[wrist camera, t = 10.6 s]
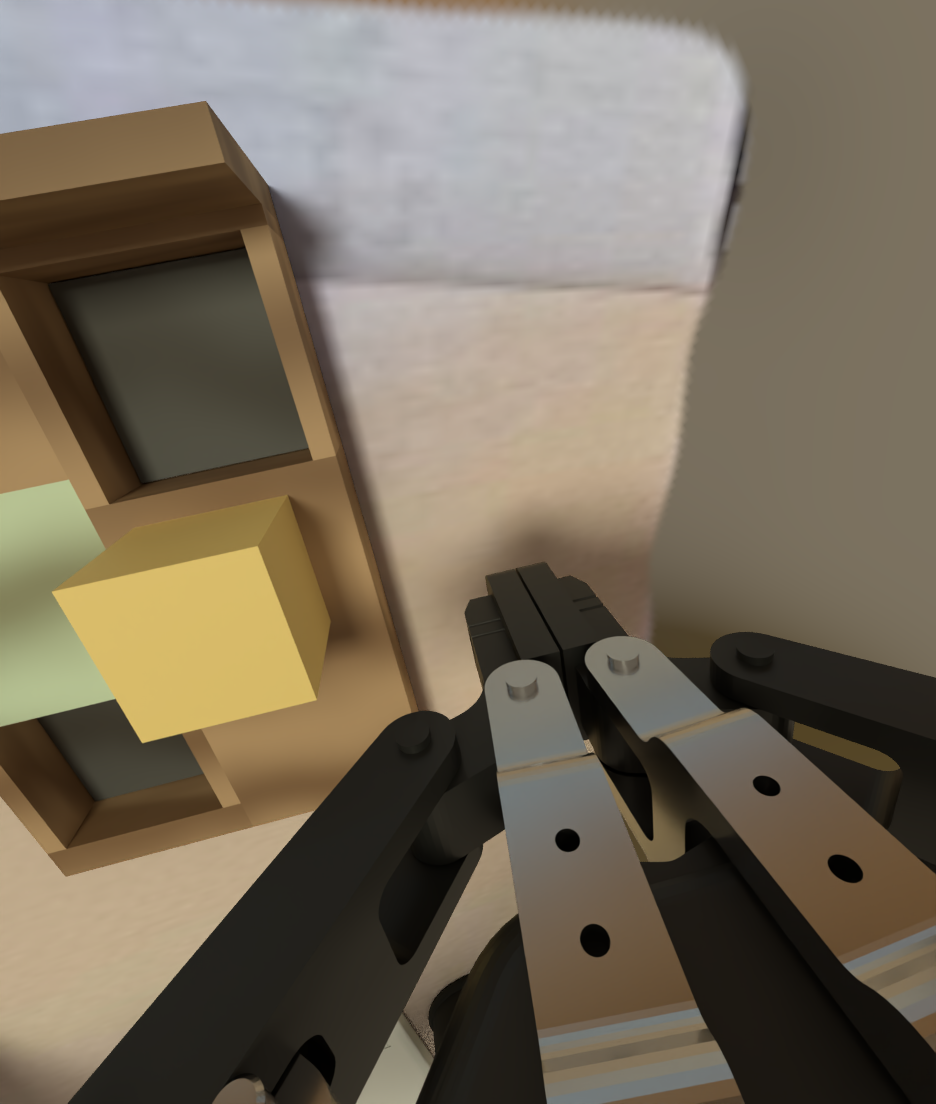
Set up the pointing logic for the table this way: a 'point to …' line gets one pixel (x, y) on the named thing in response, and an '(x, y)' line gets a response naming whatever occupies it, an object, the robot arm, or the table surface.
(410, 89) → the table surface
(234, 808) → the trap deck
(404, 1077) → the external hard drive
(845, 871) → the robot arm
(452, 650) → the table surface
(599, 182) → the table surface
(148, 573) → the block
